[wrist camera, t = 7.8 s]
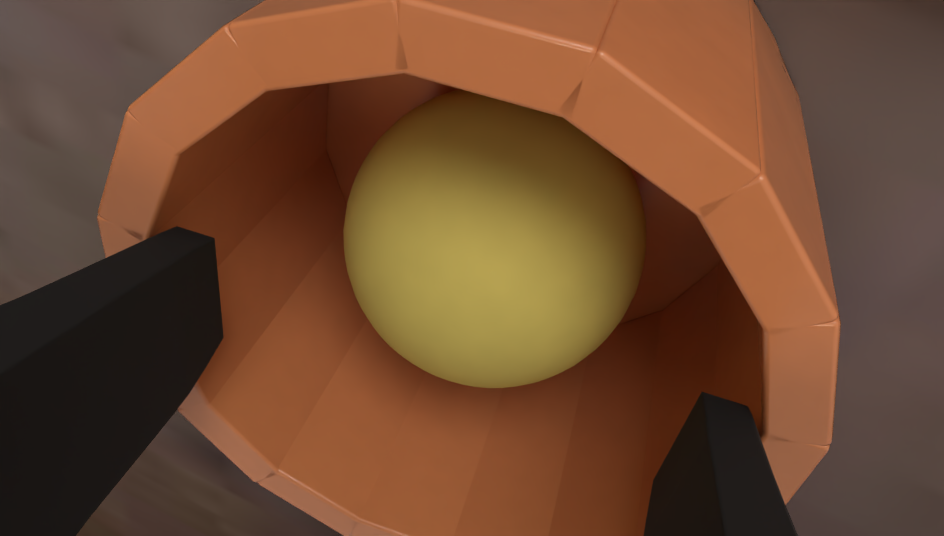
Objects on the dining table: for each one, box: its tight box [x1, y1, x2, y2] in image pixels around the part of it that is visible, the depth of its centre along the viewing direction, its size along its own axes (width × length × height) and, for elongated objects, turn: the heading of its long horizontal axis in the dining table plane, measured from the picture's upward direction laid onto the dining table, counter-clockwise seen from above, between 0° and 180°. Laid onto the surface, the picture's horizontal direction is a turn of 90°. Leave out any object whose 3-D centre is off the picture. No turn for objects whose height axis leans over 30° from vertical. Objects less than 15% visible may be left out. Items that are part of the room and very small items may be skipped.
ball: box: [343, 89, 646, 388], centre depth 13 cm, size 5×5×5 cm
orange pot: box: [97, 0, 841, 536], centre depth 13 cm, size 10×10×6 cm
